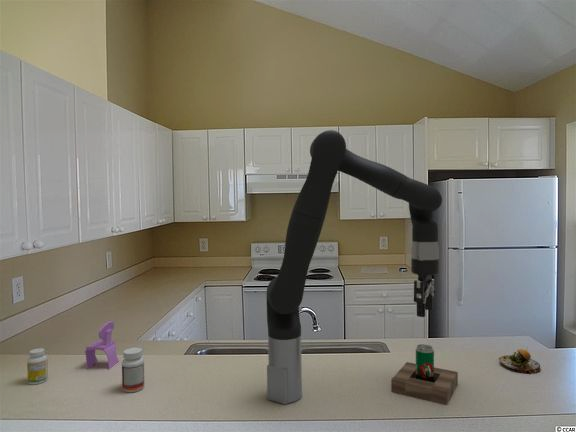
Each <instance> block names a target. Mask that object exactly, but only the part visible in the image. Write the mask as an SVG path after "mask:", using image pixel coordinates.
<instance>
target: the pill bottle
mask: <svg viewBox="0 0 576 432" xmlns="http://www.w3.org/2000/svg"><path fill="white" fill-rule="evenodd" d="M122 355H123V360H122V362H121V385H122V387H121V388H122V391H123V392H125V393H136V392H139V391H141V390H143V389H144V388H145V360H144V359H145V358H144V357H142V356H143V349H142V348H141V347H131V348H126V349H125V350H123V354H122Z"/></svg>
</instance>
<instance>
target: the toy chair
mask: <svg viewBox="0 0 576 432" xmlns="http://www.w3.org/2000/svg"><path fill="white" fill-rule="evenodd" d="M114 328H115V323H114V321H112V320H110V321H107V322H105V324H103V325H102V326H101V327H100V328H99V331H98V338H99V339H100V340H99V339H98V340H96V341H94V342H92V343H90V344H89V345H87V346H86V347H85V351H84V353H85V363H86V364H85V365H86V366H85V369H90V367H92V366H94V365H95V364H97V363H98V362H99V360H98V358H97V356H96V350H98V351H103V352H104V353H105V355H106V358H107V363H108V364H107V365H108V366H107V368H108V369H110V368H111V369H113V368H114V367H115V366H116V365H115V364H117V363H118V362H120V360H119V358H118V357H117V356H118V355H117V352H116V351H117V345H116V342H115V340H112V334H113V330H114ZM96 362H97V363H96ZM93 364H94V365H93ZM118 364H119V363H118ZM118 364H117V365H118ZM114 365H115V366H114ZM113 366H114V367H113ZM112 367H113V368H112ZM111 369H110V370H111Z"/></svg>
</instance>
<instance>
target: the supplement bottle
mask: <svg viewBox="0 0 576 432" xmlns="http://www.w3.org/2000/svg"><path fill="white" fill-rule="evenodd" d="M45 353H46V350H45V348H43V347H42V348H33V349H31V350H30V351H29V358H28V359H27V360H26V361H27V383H28V385H40V384H43V383H45V382H47V381H48V379H49V375H48V372H49V369H48V368H49V367H48V363H49V362H48V356H47V355H46V354H45Z"/></svg>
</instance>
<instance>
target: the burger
mask: <svg viewBox="0 0 576 432" xmlns="http://www.w3.org/2000/svg"><path fill="white" fill-rule="evenodd" d="M530 353H531V352H529V351H528V348H527V349H522V348H518V349H516V351H514V352H513V354H511V355H503V356H500V357H498V360H499V362H500V363H501V364H502V365H504V366H505V367H507V368H510V369H512V370H517V373H518V374H522V373H523V374H526V372H527V371H528V372H529V374H531V375H533V374H532V373H534V374H536V373H538V372H541V364H540V363H539V362H538V361H536V360H534V359H532V358H531V357H532V356H531V354H530Z"/></svg>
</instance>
